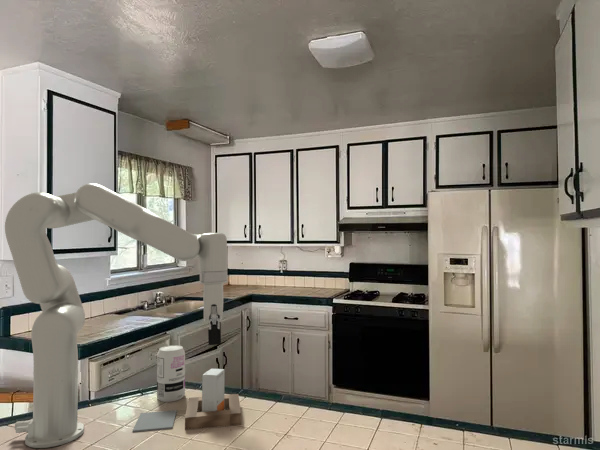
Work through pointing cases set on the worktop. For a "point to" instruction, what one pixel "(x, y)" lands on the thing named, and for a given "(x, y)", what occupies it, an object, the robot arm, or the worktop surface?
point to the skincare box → (213, 390)
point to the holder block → (213, 414)
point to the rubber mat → (155, 421)
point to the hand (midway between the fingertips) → (214, 340)
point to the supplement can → (170, 373)
